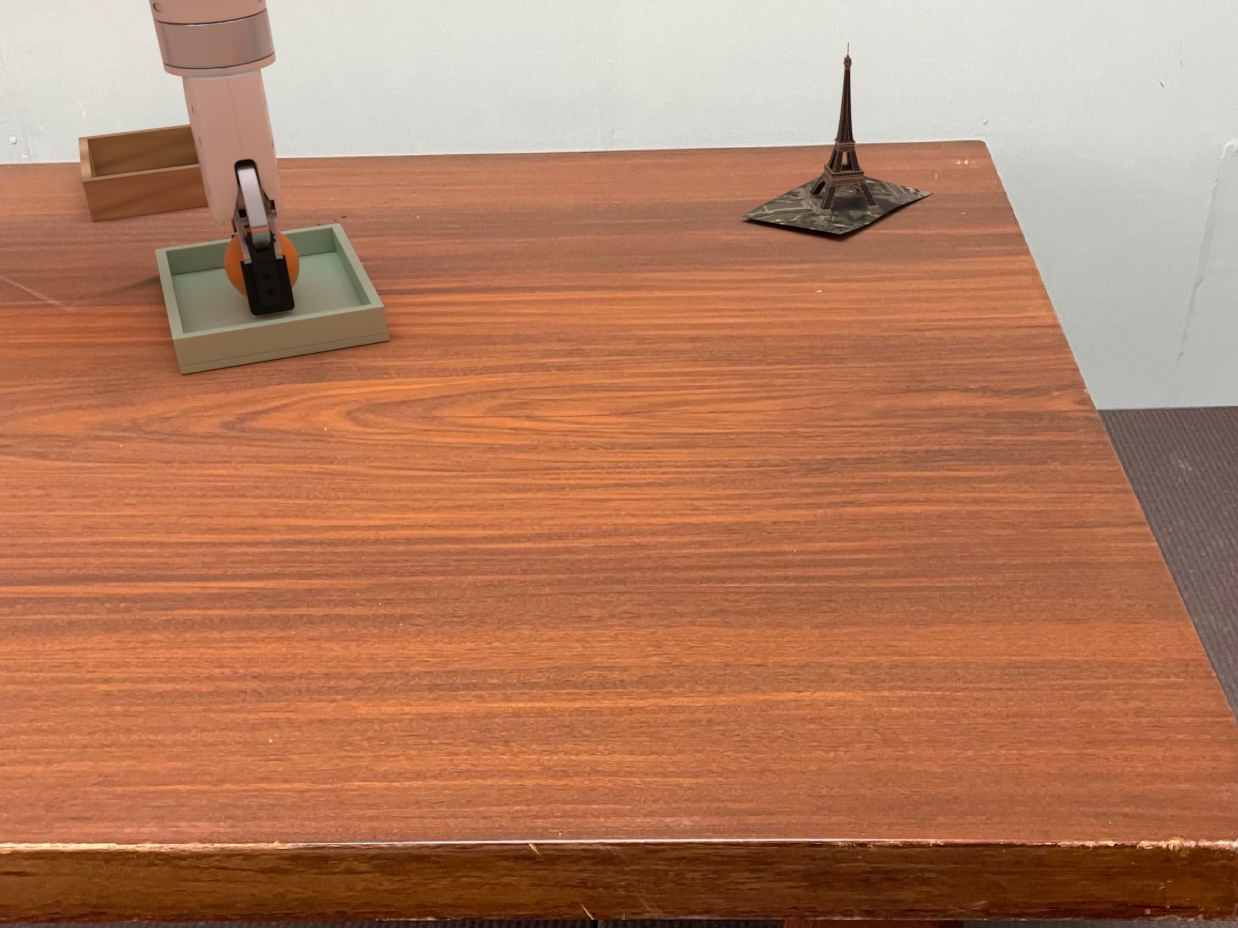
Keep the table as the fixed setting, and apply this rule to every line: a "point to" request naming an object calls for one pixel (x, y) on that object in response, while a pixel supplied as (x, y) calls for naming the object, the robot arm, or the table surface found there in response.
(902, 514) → the table surface
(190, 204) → the wooden box
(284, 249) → the orange
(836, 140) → the eiffel tower figurine
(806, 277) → the table surface
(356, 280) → the tray
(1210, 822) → the table surface
